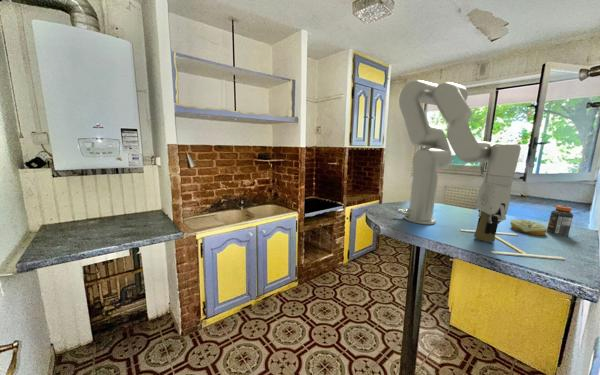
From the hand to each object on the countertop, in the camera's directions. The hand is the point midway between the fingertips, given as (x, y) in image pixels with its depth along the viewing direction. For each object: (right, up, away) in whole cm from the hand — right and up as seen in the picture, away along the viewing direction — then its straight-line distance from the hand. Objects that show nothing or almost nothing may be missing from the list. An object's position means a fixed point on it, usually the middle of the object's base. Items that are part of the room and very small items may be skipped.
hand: (485, 230), depth 85 cm
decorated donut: (+26, -3, +13) cm, 29 cm away
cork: (0, -3, +1) cm, 3 cm away
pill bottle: (+36, -3, +10) cm, 38 cm away
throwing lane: (+6, -4, -1) cm, 8 cm away
